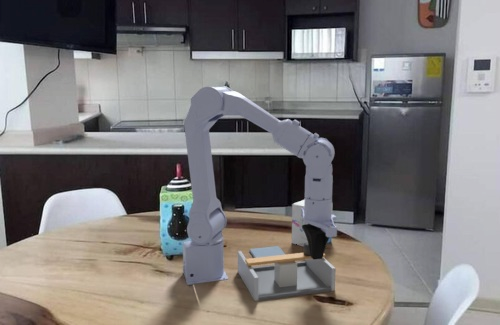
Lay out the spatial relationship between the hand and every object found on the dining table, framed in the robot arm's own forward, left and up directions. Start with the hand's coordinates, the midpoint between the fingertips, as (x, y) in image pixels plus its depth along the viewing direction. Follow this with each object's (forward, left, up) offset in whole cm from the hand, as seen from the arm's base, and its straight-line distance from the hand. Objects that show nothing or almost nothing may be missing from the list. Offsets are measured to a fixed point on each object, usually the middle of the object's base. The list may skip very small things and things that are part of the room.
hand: (316, 257), depth 96 cm
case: (-5, +5, -8) cm, 11 cm away
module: (-5, +4, -7) cm, 10 cm away
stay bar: (-5, +4, -1) cm, 7 cm away
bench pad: (-4, +20, -8) cm, 22 cm away
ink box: (+11, +27, -8) cm, 30 cm away
